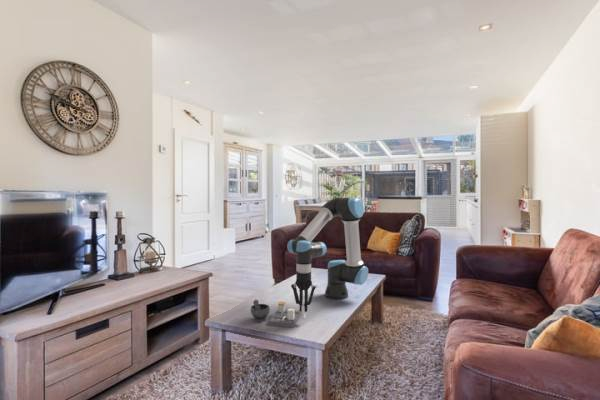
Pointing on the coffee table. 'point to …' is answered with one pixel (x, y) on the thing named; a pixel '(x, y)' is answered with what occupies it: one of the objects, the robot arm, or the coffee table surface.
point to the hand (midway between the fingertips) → (303, 317)
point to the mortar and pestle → (259, 311)
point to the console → (284, 319)
